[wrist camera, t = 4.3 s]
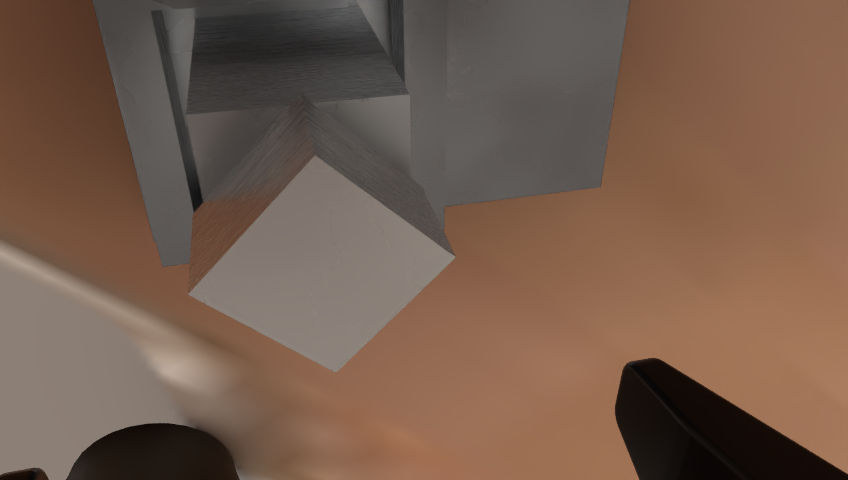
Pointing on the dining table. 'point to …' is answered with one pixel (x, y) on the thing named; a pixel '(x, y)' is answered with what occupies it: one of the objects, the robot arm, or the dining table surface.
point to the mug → (155, 455)
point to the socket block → (425, 81)
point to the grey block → (305, 181)
